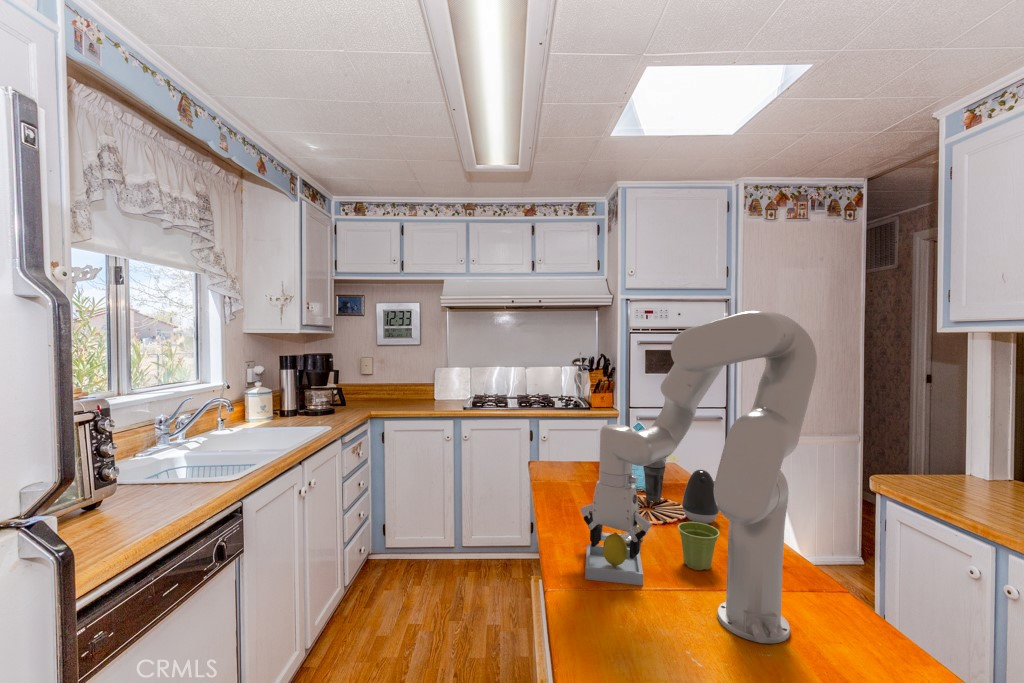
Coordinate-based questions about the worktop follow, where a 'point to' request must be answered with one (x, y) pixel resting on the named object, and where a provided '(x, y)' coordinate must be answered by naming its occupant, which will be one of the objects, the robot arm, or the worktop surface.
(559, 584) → the worktop surface
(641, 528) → the crank base
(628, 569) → the tray
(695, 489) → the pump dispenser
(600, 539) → the crank handle
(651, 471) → the beverage cup
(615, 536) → the lemon
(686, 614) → the worktop surface
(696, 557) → the plant pot
